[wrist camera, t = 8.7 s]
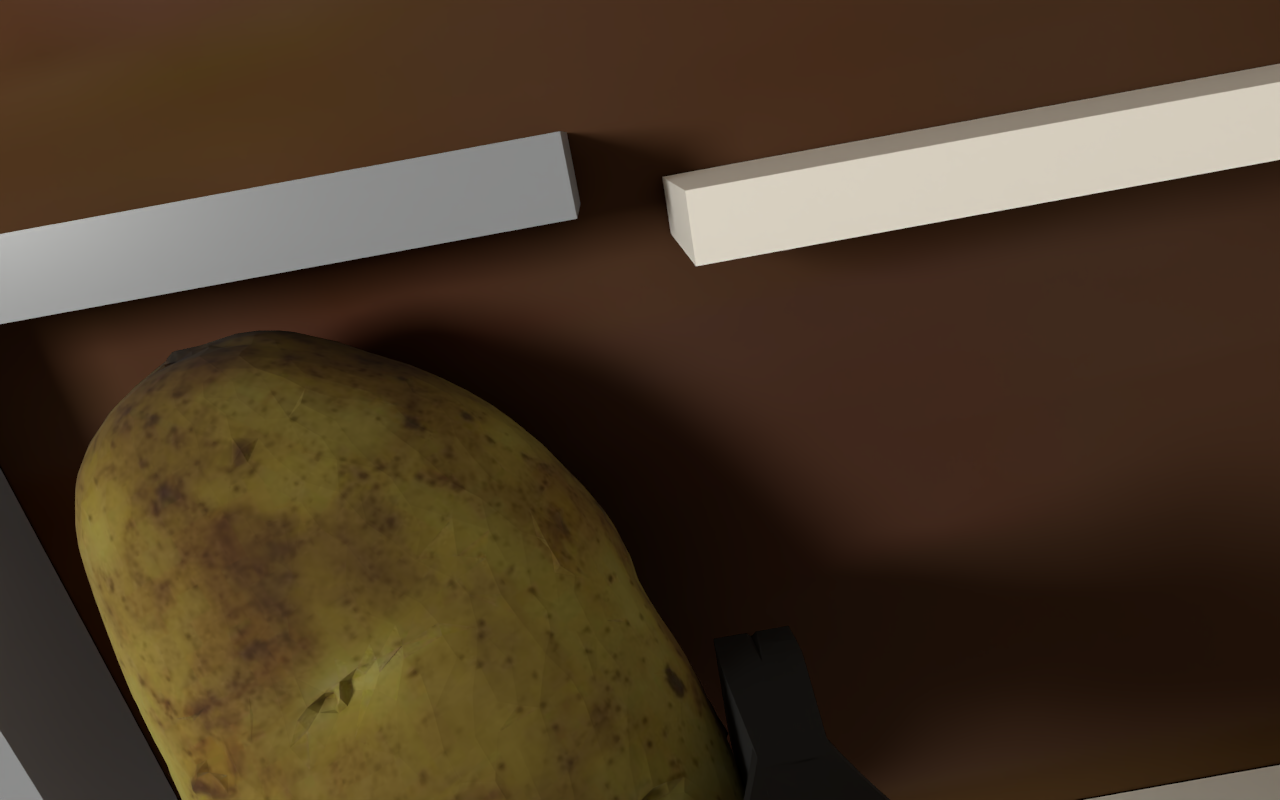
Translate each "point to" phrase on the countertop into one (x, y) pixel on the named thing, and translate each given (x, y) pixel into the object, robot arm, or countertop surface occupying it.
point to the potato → (375, 592)
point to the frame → (177, 261)
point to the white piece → (990, 201)
